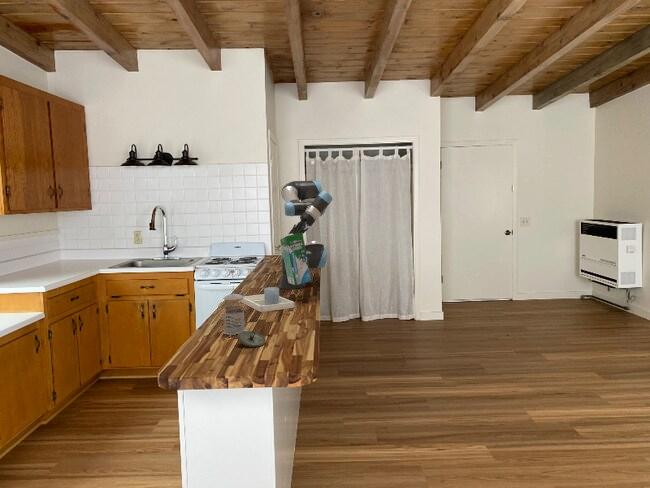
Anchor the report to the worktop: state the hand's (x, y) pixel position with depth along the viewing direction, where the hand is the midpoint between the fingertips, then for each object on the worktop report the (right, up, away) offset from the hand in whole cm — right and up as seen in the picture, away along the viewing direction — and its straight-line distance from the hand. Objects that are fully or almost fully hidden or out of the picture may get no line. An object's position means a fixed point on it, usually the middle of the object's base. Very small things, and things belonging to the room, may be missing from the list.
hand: (281, 250), depth 265 cm
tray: (-6, -27, -9) cm, 29 cm away
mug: (-3, -27, -16) cm, 31 cm away
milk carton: (+9, -16, +1) cm, 18 cm away
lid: (-5, -33, -74) cm, 81 cm away
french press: (-15, -32, -55) cm, 65 cm away
